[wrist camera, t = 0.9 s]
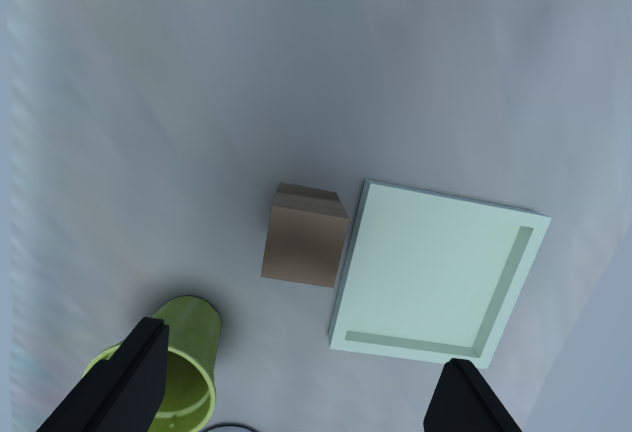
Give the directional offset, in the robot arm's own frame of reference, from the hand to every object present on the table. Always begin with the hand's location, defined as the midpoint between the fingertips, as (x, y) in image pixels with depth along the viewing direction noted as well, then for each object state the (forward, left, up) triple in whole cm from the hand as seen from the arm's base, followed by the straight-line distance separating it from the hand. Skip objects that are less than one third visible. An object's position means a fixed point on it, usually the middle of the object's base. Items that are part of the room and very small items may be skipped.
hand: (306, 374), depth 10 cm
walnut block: (0, 0, -18) cm, 18 cm away
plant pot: (+13, -9, -18) cm, 24 cm away
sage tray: (+4, +13, -18) cm, 23 cm away
